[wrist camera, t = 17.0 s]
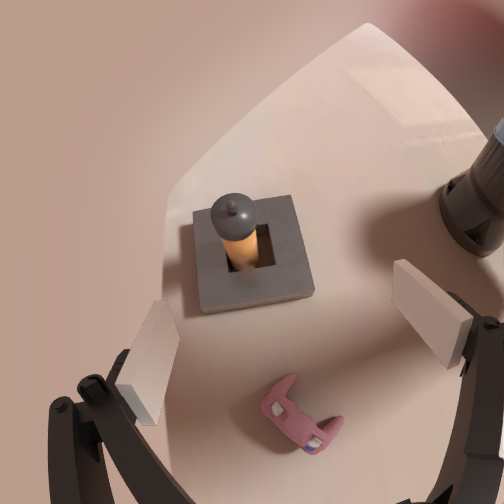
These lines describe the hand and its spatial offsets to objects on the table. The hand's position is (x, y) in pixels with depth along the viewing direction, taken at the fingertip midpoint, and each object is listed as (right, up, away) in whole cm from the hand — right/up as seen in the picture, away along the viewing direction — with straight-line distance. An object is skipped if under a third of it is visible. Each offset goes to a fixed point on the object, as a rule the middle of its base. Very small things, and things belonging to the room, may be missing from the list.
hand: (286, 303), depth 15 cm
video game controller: (+4, -17, +15) cm, 23 cm away
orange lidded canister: (-3, +2, +24) cm, 24 cm away
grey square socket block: (-2, +2, +24) cm, 24 cm away
